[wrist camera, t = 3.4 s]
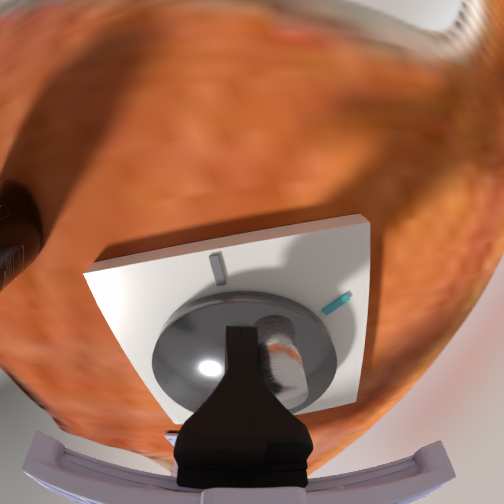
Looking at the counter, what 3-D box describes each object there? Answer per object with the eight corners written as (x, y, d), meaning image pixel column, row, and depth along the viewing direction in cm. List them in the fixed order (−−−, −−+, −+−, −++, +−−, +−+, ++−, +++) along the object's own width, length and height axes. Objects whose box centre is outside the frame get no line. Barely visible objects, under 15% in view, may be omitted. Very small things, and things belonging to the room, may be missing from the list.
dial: (285, 417, 21) (292, 474, 16) (147, 387, 19) (131, 448, 14) (365, 319, 16) (399, 388, 11) (176, 262, 14) (144, 337, 9)
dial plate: (352, 389, 23) (356, 403, 21) (177, 411, 23) (174, 425, 22) (360, 213, 15) (371, 223, 14) (93, 262, 16) (81, 275, 15)
